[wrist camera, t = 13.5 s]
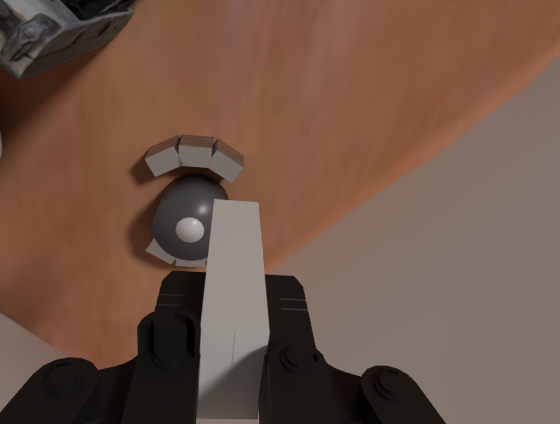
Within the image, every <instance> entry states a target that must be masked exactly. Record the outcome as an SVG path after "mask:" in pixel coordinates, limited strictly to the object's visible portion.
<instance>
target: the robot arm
mask: <svg viewBox="0 0 560 424" xmlns="http://www.w3.org/2000/svg"><path fill="white" fill-rule="evenodd" d="M307 310H308V308H307V303H306V301H305V294H304V289H303V286H302V285H301V284H300V283H299V281H298V280H297V279H296V278H295V277H294V276H282V275H266V274H264V263H263V252H262V241H261V229H260V218H259V207H258V202H246V201H233V200H220V199H214V206H213V215H212V224H211V234H210V243H209V252H208V261H207V271H206V272H189V271H171V272H170V273H169V274H168V275H167V276H166V277H165V278H164V279H163V280H162V283H161V287H160V291H159V295H158V299H157V304H156V307H155V311H154V312H152V313H150V314H148V315H147V316H146V317H144V318H143V319H142V320H141V322H140V323H139V325H138V327H137V334H138V355H137V356H136V357H135V358H133V359H132V360H130V361H128V362H126V363H124V364H121V365H118V366H115V367H110V368H105V369H101V370H98V369H97V368H96V367H95V366H94V364H93V363H92V362H90V361H87V360H85V359H83V358H72V357H68V358H63V359H58V360H54V361H53V362H50V363H48V364H46V365H44V366H42V367H41V368H40V369H39V370H38V371H36V372H35V373H34V374H33V375H32V376H31V377H30V378H29V379H28V381H27V382H26V383H25V384H24V385H23V387H22V388H21V389H20V390H19V391H18V392H17V393H16V395H15V396H14V397H13V398H12V399H11V401H10V402H9V403H8V404H7V405H6V406H5V407H4V409H3V410H2V411H1V412H0V424H196V418H208V419H211V418H212V419H257V418H258V411H259V424H446V423H445V422H444V420H443V419H442V418H441V416H440V415H439V414H438V412H437V411H436V409H435V408H434V407H433V405H432V404H431V403H430V401H429V400H428V398H427V397H426V396H425V394H424V393H423V392H422V390H421V389H420V387H419V386H418V385H417V383H416V382H415V381H414V380H413V379H412V378H411V377H409V375H408V374H406V373H404V372H402V371H401V370H399V369H397V368H393V367H390V366H374V367H371V368H369V369H367V370H366V371H365V372H364V373H363V375H362V376H361V377H360V376H357V375H353V374H350V373H346V372H343V371H341V370H338V369H336V368H334V367H332V366H331V365H329V364H328V363H326V361H325V359H324V357H323V355H322V354H321V353H320V352H319V351H318V350H317V349H316V346H315V342H314V337H313V332H312V327H311V322H310V318H309V313H308V311H307Z"/></svg>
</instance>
